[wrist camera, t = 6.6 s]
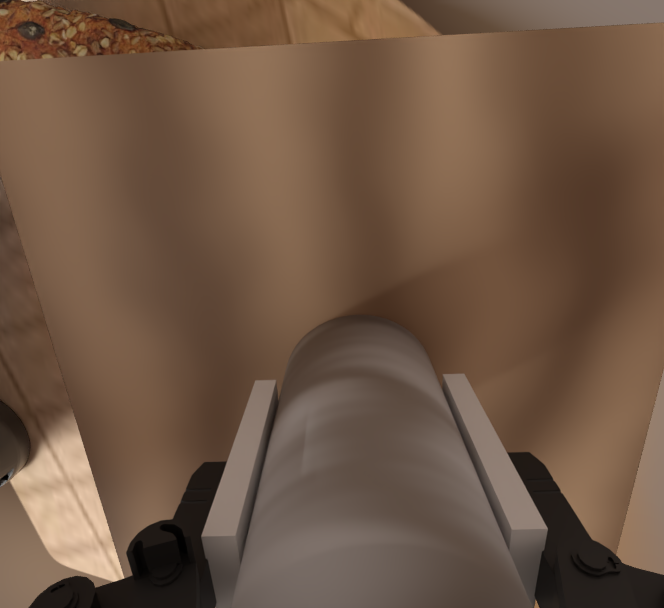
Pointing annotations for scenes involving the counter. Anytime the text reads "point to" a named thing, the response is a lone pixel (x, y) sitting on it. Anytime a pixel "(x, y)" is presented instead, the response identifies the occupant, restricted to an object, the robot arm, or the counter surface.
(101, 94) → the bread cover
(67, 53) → the bread
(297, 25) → the counter surface
